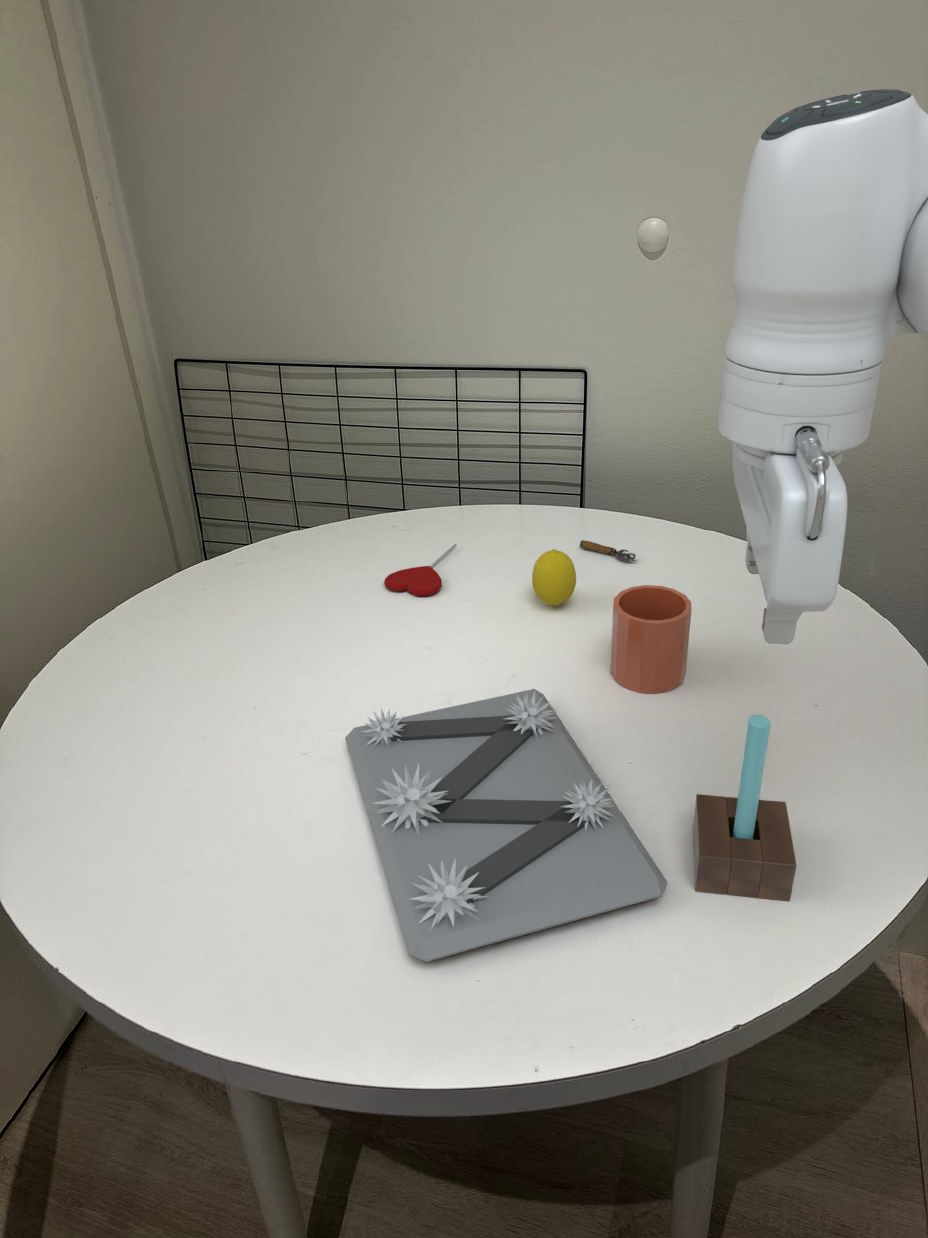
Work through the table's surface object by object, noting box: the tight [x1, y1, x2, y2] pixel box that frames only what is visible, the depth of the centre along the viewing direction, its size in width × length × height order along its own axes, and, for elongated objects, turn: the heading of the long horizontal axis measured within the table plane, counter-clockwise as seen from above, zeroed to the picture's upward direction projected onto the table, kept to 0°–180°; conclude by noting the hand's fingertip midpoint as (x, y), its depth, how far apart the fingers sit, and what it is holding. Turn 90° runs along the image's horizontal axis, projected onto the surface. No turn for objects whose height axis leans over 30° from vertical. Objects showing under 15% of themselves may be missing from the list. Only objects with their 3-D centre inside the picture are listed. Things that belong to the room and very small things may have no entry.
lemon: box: [531, 548, 577, 607], centre depth 113 cm, size 6×6×8 cm
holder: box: [692, 793, 798, 902], centre depth 75 cm, size 7×7×4 cm
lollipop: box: [383, 543, 457, 597], centre depth 125 cm, size 8×1×15 cm
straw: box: [732, 714, 772, 839], centre depth 72 cm, size 2×2×15 cm
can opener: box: [579, 539, 637, 562], centre depth 126 cm, size 9×2×1 cm, turn 49°
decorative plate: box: [345, 688, 668, 963], centre depth 80 cm, size 30×22×7 cm
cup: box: [610, 584, 693, 695], centre depth 98 cm, size 8×8×9 cm
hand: (766, 601), depth 61 cm, fingers open, 8 cm apart
